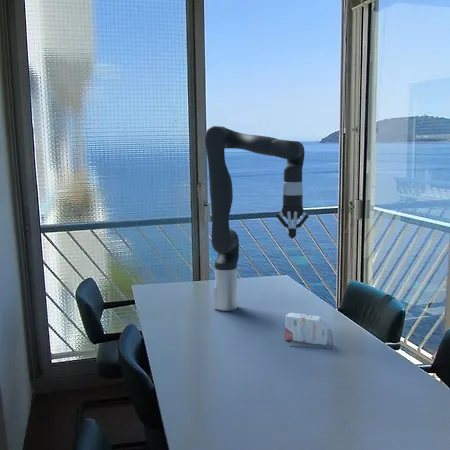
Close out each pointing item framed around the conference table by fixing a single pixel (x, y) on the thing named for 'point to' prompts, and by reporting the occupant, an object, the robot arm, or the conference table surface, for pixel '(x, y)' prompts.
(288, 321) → the ink cartridge box
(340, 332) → the conference table surface
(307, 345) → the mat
